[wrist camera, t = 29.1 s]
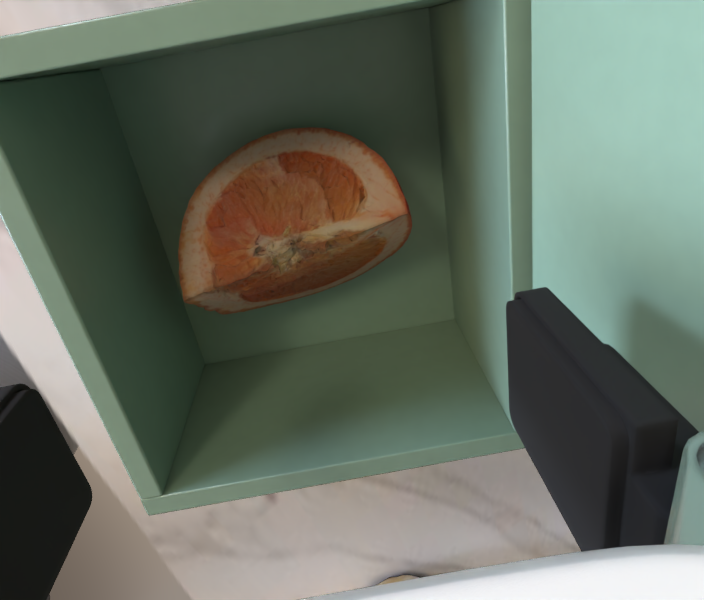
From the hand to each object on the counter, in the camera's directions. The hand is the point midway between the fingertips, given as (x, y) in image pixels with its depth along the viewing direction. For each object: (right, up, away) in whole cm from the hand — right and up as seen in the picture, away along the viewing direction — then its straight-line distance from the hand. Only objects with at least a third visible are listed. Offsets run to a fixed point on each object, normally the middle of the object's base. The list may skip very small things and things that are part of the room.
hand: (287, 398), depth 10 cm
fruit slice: (-1, +6, +11) cm, 13 cm away
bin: (-1, +6, +12) cm, 13 cm away
